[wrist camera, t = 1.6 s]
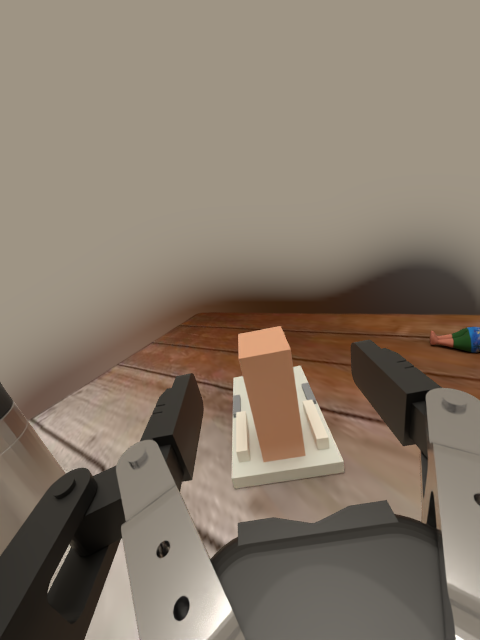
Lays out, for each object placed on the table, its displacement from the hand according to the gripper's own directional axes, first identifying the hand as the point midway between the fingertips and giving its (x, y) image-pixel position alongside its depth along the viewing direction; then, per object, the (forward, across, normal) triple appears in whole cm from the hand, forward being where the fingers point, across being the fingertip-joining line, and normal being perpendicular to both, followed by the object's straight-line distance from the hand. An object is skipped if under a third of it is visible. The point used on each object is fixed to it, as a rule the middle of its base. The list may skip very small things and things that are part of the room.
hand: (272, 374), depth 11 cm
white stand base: (+21, 0, +24) cm, 32 cm away
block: (+15, 0, +22) cm, 27 cm away
